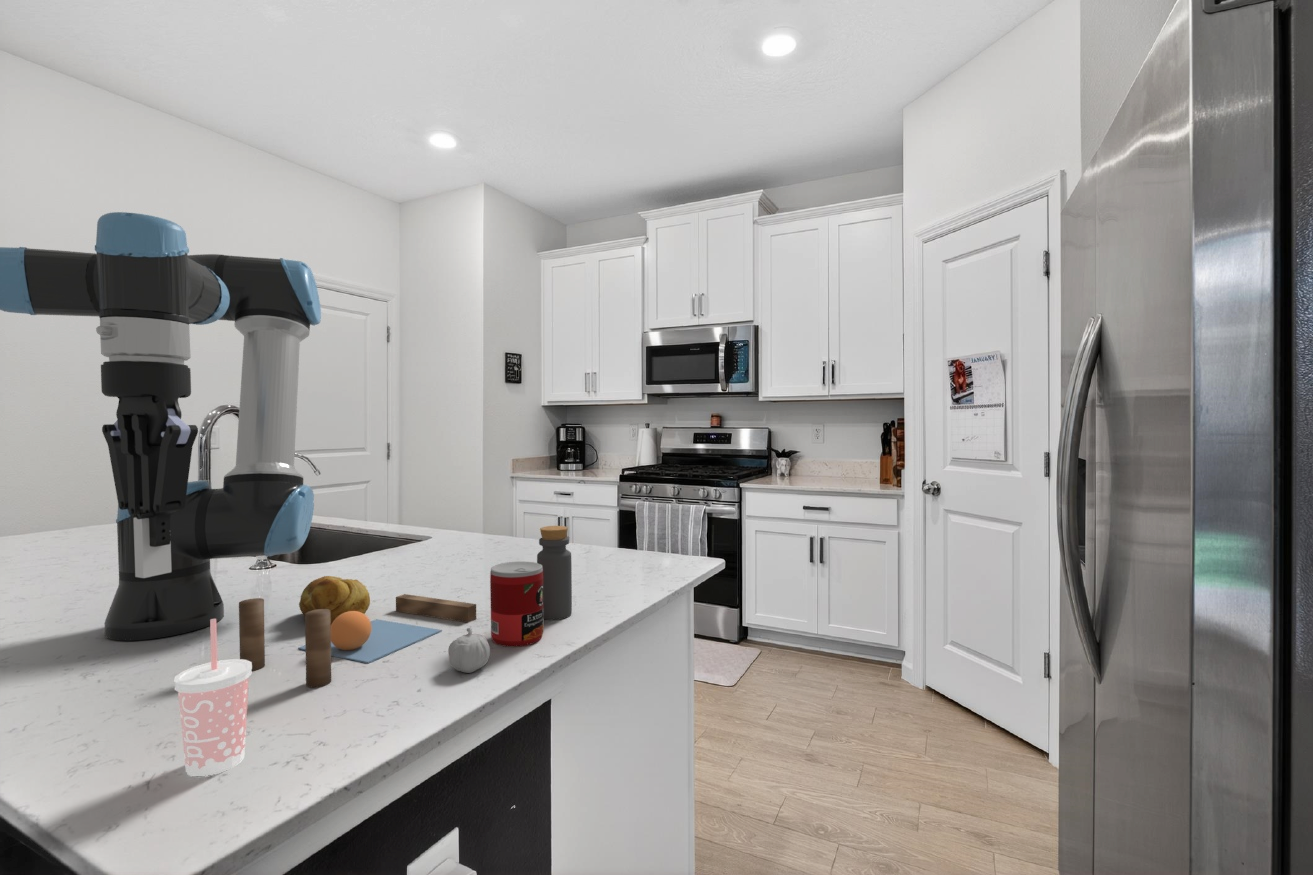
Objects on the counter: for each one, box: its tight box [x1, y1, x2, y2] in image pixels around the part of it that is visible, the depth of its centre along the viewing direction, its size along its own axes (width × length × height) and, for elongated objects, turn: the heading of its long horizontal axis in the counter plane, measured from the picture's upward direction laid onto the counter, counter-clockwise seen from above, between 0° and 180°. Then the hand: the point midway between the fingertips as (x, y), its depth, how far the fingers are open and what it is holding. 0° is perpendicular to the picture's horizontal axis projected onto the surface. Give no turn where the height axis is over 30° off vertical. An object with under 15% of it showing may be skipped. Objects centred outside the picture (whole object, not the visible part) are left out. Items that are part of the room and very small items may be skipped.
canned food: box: [489, 561, 544, 648], centre depth 92 cm, size 8×8×11 cm
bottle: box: [536, 525, 573, 621], centre depth 103 cm, size 6×6×15 cm
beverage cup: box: [173, 619, 253, 777], centre depth 58 cm, size 6×6×14 cm
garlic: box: [447, 627, 491, 674], centre depth 80 cm, size 6×5×5 cm
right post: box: [304, 609, 332, 689], centre depth 76 cm, size 3×3×9 cm
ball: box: [331, 611, 371, 650], centre depth 88 cm, size 6×6×6 cm
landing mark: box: [298, 618, 443, 664], centre depth 92 cm, size 14×14×1 cm
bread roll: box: [298, 575, 371, 624], centre depth 103 cm, size 13×10×8 cm
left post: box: [238, 597, 266, 672], centre depth 81 cm, size 3×3×9 cm
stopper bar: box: [395, 593, 477, 623], centre depth 103 cm, size 16×2×2 cm, turn 67°
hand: (153, 574), depth 67 cm, fingers closed
